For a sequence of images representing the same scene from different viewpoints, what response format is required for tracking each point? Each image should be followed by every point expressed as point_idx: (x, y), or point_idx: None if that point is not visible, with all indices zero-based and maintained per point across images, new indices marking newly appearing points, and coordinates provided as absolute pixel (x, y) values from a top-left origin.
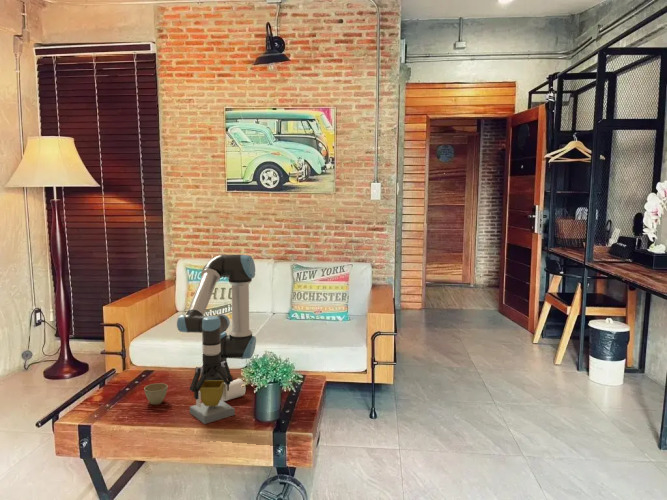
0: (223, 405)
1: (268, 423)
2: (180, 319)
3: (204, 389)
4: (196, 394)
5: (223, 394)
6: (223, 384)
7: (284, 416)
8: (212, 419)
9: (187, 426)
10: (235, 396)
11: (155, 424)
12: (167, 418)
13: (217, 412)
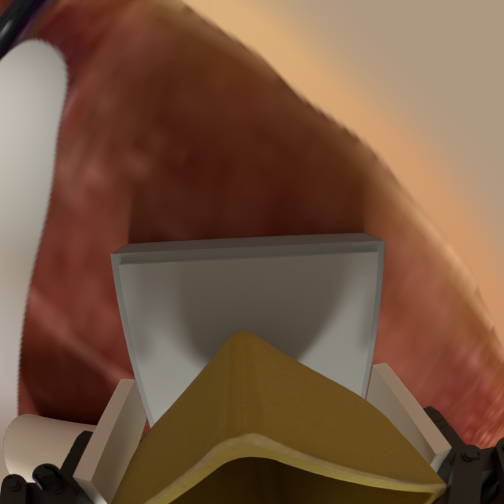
0: (167, 352)
1: (47, 31)
2: None
3: (416, 472)
4: (449, 436)
5: (137, 431)
6: (113, 501)
7: None
8: (310, 237)
9: (438, 265)
10: (67, 422)
11: (488, 358)
12: (439, 393)
13: (266, 260)
